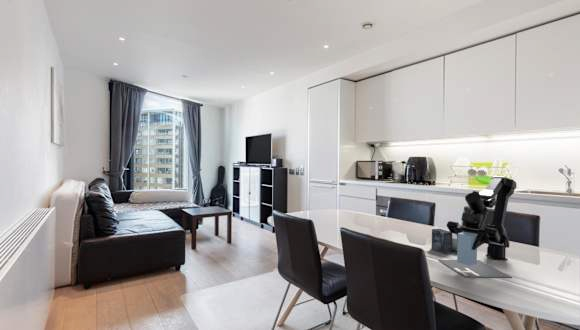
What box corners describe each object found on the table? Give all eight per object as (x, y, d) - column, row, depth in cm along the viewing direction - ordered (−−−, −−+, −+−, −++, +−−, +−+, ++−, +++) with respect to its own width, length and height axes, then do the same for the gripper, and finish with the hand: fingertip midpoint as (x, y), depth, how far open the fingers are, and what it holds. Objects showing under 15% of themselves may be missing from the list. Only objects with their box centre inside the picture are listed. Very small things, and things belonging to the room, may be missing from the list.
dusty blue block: (464, 260, 121) (464, 231, 120) (476, 263, 116) (477, 234, 116) (457, 261, 118) (457, 233, 118) (469, 266, 114) (470, 236, 114)
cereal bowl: (481, 253, 142) (481, 239, 142) (447, 253, 143) (448, 239, 143) (461, 243, 159) (462, 231, 159) (431, 243, 160) (432, 230, 160)
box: (431, 249, 149) (431, 229, 149) (439, 248, 150) (440, 228, 150) (443, 253, 141) (443, 232, 141) (452, 252, 143) (452, 231, 143)
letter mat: (479, 260, 132) (479, 260, 132) (511, 277, 113) (511, 276, 113) (438, 260, 131) (438, 259, 131) (464, 277, 112) (464, 276, 112)
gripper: (448, 202, 127) (435, 230, 121) (498, 209, 112) (486, 241, 105) (456, 218, 132) (444, 246, 125) (505, 226, 116) (494, 258, 110)
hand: (465, 247), depth 116 cm, fingers closed on dusty blue block, 5 cm apart
